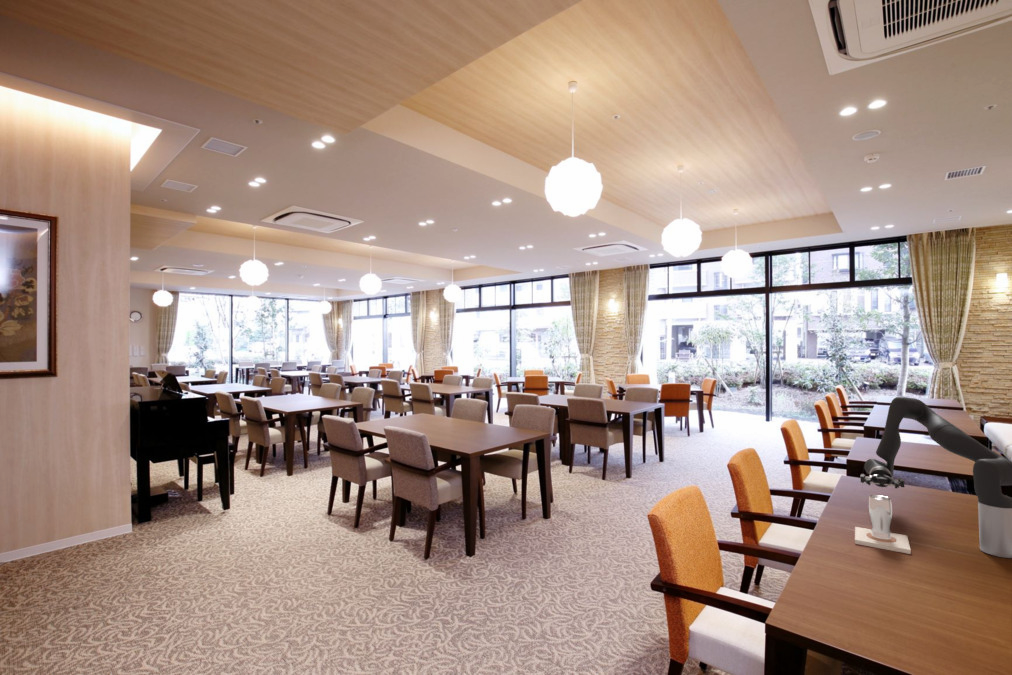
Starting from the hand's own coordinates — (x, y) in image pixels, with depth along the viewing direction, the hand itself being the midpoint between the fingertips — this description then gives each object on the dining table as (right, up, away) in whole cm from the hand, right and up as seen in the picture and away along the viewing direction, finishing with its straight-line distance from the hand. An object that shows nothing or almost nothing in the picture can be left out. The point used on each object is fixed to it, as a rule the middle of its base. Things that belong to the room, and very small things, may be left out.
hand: (882, 484), depth 191 cm
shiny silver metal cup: (-10, -17, -11) cm, 22 cm away
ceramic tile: (-10, -18, -12) cm, 24 cm away
